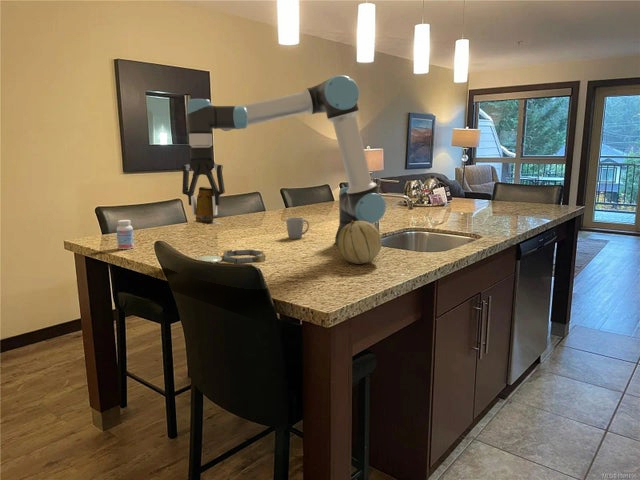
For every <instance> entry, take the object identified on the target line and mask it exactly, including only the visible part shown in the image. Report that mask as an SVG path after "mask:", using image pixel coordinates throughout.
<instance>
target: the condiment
mask: <svg viewBox="0 0 640 480" xmlns="http://www.w3.org/2000/svg"><path fill="white" fill-rule="evenodd" d="M212 196H214V192H213V190H212V187H208V186H199V188H198V194H197V196H196V215H195V219H192V220H191V219H190V220H189V221H190V222H194V223H199V224H204V225H210V226H211V225H219V224H221V222H219V221H214V218H215V217H214V216H215V215H213V200H212Z"/></svg>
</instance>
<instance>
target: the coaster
mask: <svg viewBox="0 0 640 480" xmlns="http://www.w3.org/2000/svg"><path fill="white" fill-rule="evenodd" d="M194 259H198V260H203V261H211V262H218V263H220V262H222V261H223V258H222V257H221V256H216V255H205V256H204V255H203V256H199V257H195V258H194Z"/></svg>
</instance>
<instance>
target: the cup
mask: <svg viewBox="0 0 640 480" xmlns="http://www.w3.org/2000/svg"><path fill="white" fill-rule="evenodd" d="M285 220H286V221H285V222H286V229H287V235H288V238H289V239H291V240H298V239H299V238H300V239H301V238H302V237H303V235H305V234H306V233H307V232H308V231H309V227H310V225H309V224H310V223H309V221H308V220H307V219H305V218H303V217H296V216H295V217H287V218H286V219H285ZM304 223H306V224H307V228H306V229H305V230H304V231H303V229H304ZM300 239H299V240H300Z"/></svg>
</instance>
